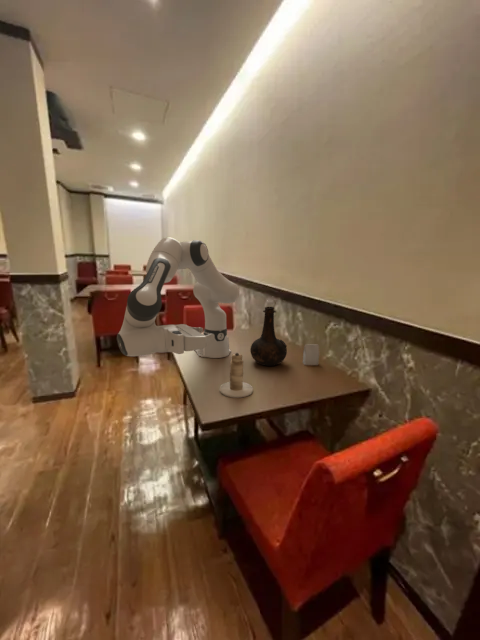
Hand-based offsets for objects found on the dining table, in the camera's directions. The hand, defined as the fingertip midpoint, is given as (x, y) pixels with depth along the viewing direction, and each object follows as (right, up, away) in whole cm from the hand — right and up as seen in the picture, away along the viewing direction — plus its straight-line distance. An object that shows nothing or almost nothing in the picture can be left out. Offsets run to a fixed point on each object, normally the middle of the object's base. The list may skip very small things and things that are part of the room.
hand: (207, 332), depth 110 cm
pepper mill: (+10, -22, +11) cm, 27 cm away
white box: (+46, -17, +43) cm, 66 cm away
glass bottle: (+25, -17, +43) cm, 53 cm away
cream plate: (+10, -23, +11) cm, 28 cm away
